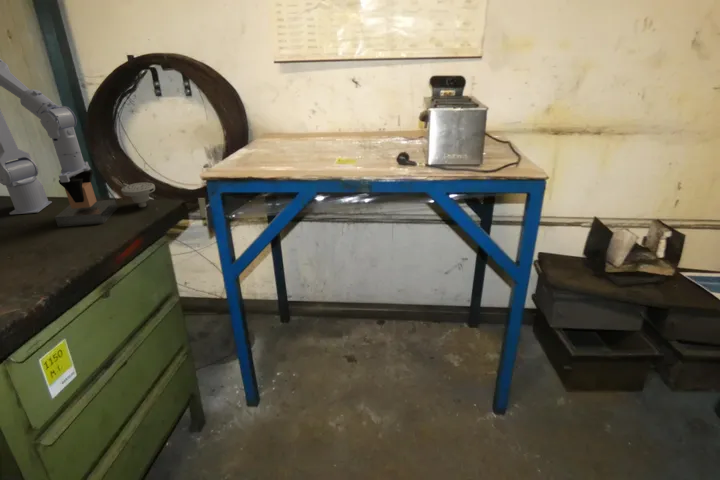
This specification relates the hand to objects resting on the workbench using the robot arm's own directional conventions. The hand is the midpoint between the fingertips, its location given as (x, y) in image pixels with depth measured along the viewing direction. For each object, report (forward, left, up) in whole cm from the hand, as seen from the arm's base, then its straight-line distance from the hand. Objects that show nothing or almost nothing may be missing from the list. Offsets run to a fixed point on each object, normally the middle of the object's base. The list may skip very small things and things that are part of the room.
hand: (83, 198), depth 123 cm
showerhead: (-7, +13, -6) cm, 16 cm away
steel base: (0, 0, -6) cm, 6 cm away
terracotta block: (0, 0, -2) cm, 2 cm away
